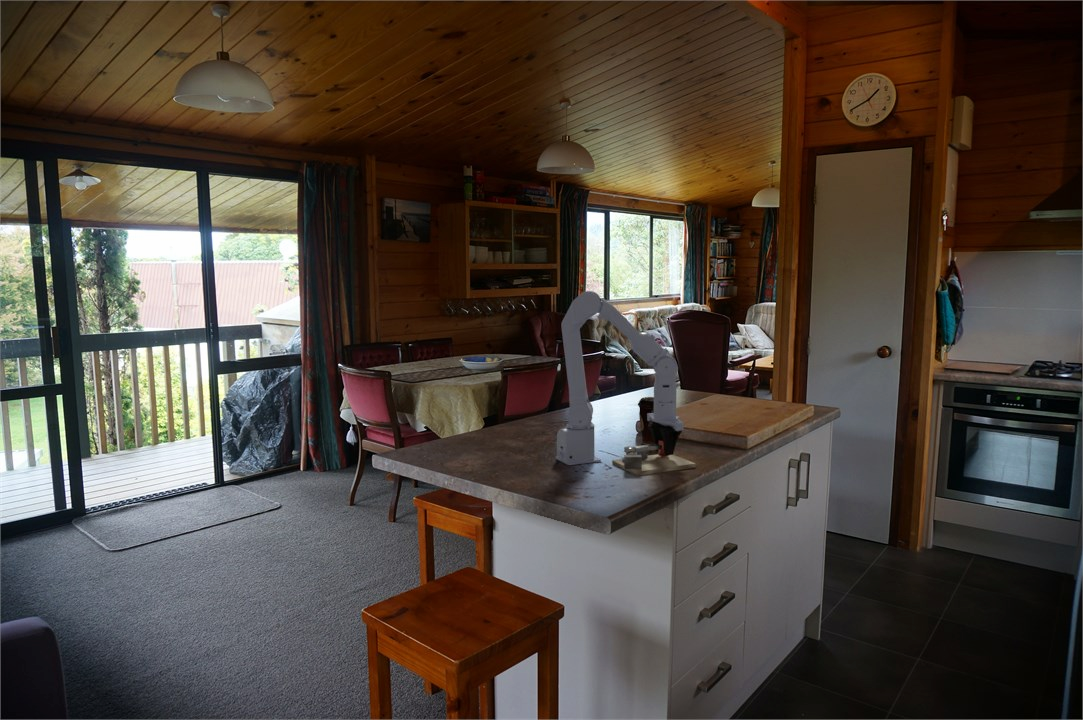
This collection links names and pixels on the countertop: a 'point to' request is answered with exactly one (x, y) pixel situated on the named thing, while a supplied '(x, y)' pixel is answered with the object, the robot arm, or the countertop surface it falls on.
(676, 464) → the cracker base
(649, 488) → the countertop surface
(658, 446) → the lever
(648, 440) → the coffee cup
